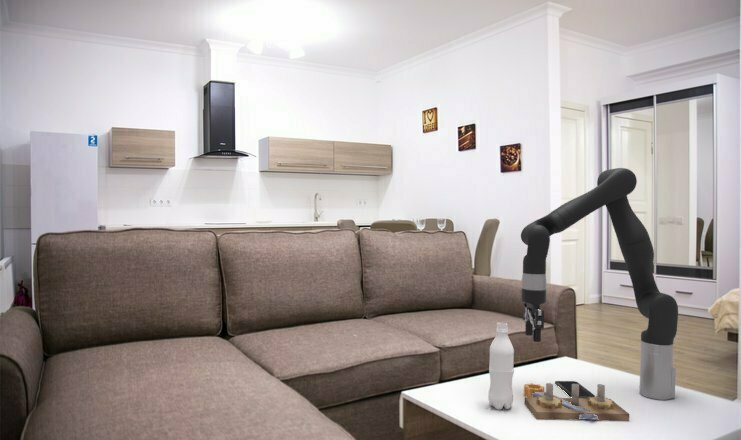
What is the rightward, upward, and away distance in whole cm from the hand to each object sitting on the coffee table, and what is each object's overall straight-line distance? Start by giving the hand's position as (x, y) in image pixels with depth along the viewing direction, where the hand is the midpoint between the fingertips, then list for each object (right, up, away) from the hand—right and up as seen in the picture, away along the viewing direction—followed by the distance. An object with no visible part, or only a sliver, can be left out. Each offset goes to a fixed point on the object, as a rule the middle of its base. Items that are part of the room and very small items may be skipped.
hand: (532, 338), depth 168 cm
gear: (0, -18, 0) cm, 18 cm away
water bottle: (-13, -18, -10) cm, 25 cm away
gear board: (+8, -19, -14) cm, 24 cm away
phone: (+15, -19, +5) cm, 25 cm away
